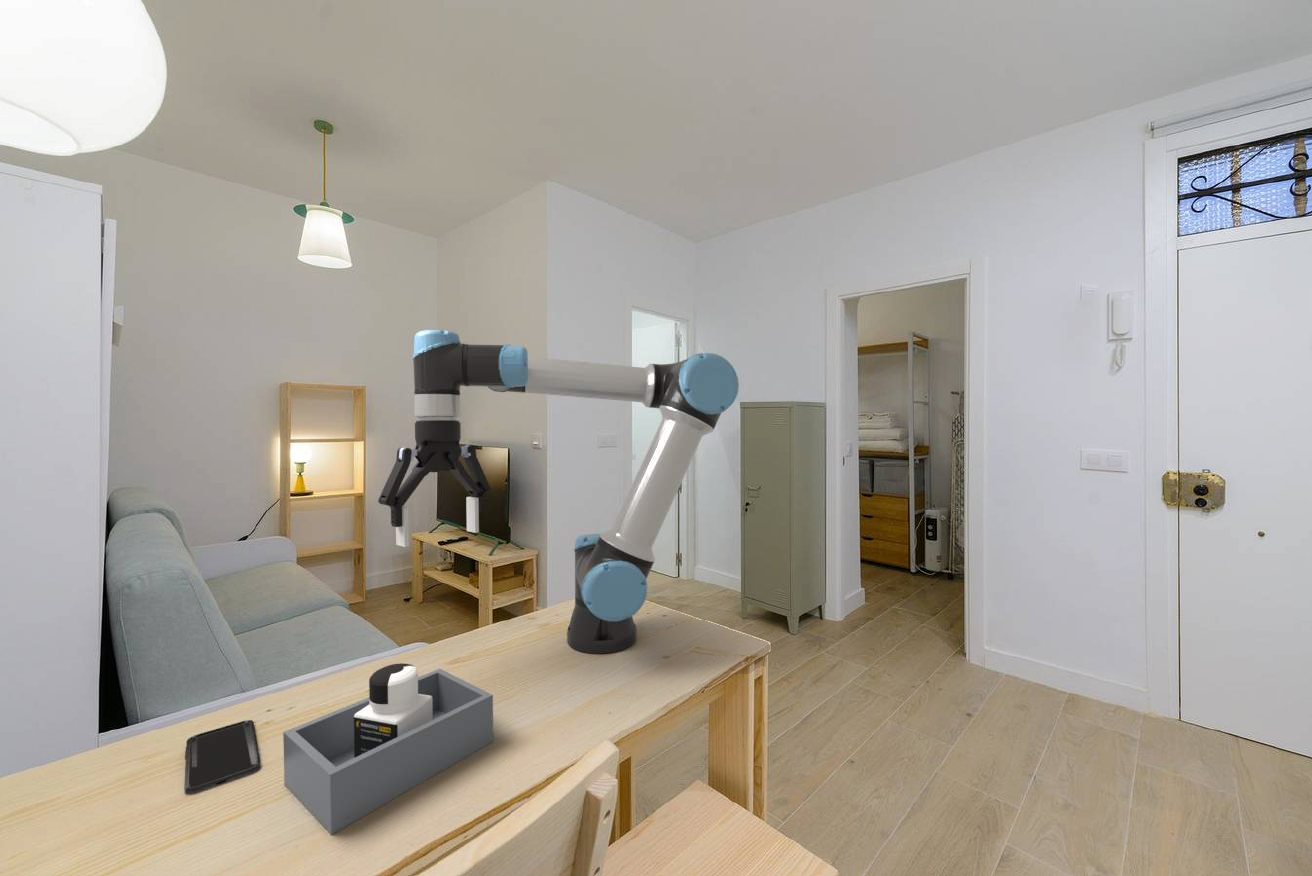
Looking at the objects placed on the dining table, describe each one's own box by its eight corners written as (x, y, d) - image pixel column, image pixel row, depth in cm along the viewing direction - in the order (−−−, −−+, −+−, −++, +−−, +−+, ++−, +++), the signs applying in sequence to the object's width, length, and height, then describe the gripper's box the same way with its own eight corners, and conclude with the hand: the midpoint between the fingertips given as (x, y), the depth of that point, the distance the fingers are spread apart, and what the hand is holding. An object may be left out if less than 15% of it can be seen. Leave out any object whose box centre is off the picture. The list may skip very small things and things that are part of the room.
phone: (252, 718, 83) (261, 765, 71) (253, 725, 83) (261, 773, 71) (185, 737, 77) (182, 791, 66) (185, 745, 78) (183, 800, 66)
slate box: (440, 710, 86) (439, 668, 86) (493, 741, 78) (492, 694, 78) (284, 784, 68) (283, 732, 68) (331, 834, 60) (330, 775, 60)
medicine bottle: (353, 766, 71) (351, 678, 70) (392, 735, 78) (391, 655, 77) (397, 775, 69) (396, 685, 68) (434, 743, 76) (433, 661, 75)
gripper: (484, 419, 106) (485, 524, 106) (354, 419, 85) (356, 548, 86) (508, 419, 101) (509, 528, 102) (377, 418, 81) (379, 555, 82)
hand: (439, 538), depth 94 cm, fingers open, 13 cm apart
